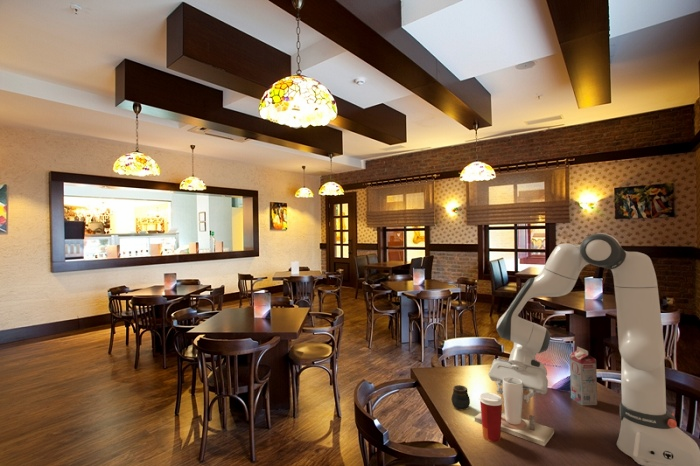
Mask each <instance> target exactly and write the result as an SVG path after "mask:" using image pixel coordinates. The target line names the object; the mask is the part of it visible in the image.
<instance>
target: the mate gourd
mask: <svg viewBox="0 0 700 466" xmlns="http://www.w3.org/2000/svg"><path fill="white" fill-rule="evenodd" d="M452 388H453V391H452V393H451V404H452V406H453V407H454V408H455V409H457V410H460V411H464V410H467V409H469V407H470V405H471V399H470V396H469V393H468V392H469V391H468V387H467V386H465V385H461V384H459V385H458V384H457V385H454V386H453V387H452Z"/></svg>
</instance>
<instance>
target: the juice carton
mask: <svg viewBox="0 0 700 466" xmlns="http://www.w3.org/2000/svg"><path fill="white" fill-rule="evenodd" d="M569 366H570V367H569V369H570V372H569V373H570V399H572V400H573V401H575V402H576V403H577V404H578V405H581V406H597V405H598V380H597V379H598V376H597V358H595V357H593V356H591V355H589V350H586V349H584V348H582V347H579V346H576V350H574V351H572V352H571V353H570V354H569Z"/></svg>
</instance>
